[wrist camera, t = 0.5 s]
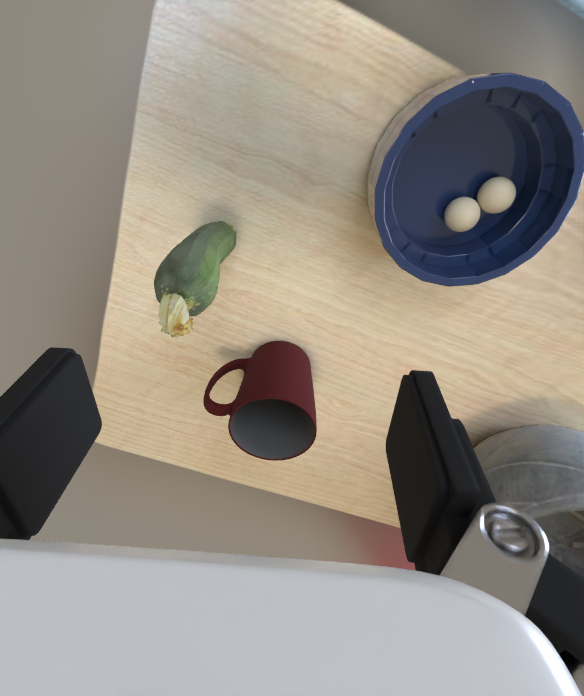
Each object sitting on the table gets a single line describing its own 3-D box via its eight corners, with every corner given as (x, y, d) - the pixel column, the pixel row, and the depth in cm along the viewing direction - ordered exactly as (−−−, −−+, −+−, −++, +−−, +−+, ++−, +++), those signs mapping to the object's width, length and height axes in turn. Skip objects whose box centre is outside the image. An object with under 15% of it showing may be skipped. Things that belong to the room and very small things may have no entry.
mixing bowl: (365, 89, 32) (374, 91, 27) (567, 61, 31) (615, 58, 26) (367, 267, 41) (374, 293, 36) (525, 253, 39) (555, 277, 34)
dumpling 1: (455, 236, 38) (454, 204, 37) (487, 229, 35) (486, 195, 35) (437, 233, 36) (436, 199, 36) (469, 226, 33) (469, 189, 33)
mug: (213, 375, 50) (190, 441, 41) (228, 318, 45) (206, 378, 36) (302, 400, 52) (300, 468, 43) (326, 347, 47) (329, 411, 38)
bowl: (414, 485, 60) (440, 590, 48) (473, 380, 49) (528, 483, 36) (544, 505, 62) (601, 612, 49) (632, 407, 50) (737, 515, 37)
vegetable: (196, 238, 40) (113, 348, 24) (206, 196, 38) (121, 286, 21) (238, 253, 41) (186, 370, 24) (250, 213, 39) (201, 312, 22)
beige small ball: (489, 165, 33) (467, 197, 34) (523, 177, 32) (500, 211, 33) (492, 181, 36) (472, 210, 37) (523, 192, 35) (502, 223, 35)
